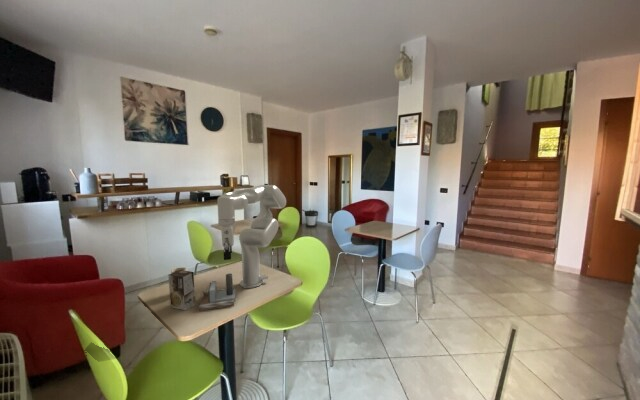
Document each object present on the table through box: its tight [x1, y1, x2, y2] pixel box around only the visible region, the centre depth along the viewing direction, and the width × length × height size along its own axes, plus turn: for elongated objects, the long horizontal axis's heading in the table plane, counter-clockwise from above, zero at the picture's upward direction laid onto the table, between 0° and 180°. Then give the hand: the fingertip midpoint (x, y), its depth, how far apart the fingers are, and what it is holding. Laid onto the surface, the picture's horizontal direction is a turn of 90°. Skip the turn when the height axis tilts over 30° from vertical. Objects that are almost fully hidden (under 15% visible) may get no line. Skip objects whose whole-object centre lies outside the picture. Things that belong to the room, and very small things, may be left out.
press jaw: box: [207, 273, 236, 303], centre depth 128 cm, size 12×11×12 cm
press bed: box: [198, 287, 235, 312], centre depth 128 cm, size 15×15×2 cm
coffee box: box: [168, 270, 196, 311], centre depth 123 cm, size 9×6×16 cm
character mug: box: [170, 266, 190, 274], centre depth 135 cm, size 11×7×13 cm, turn 153°
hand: (228, 256), depth 127 cm, fingers open, 9 cm apart
